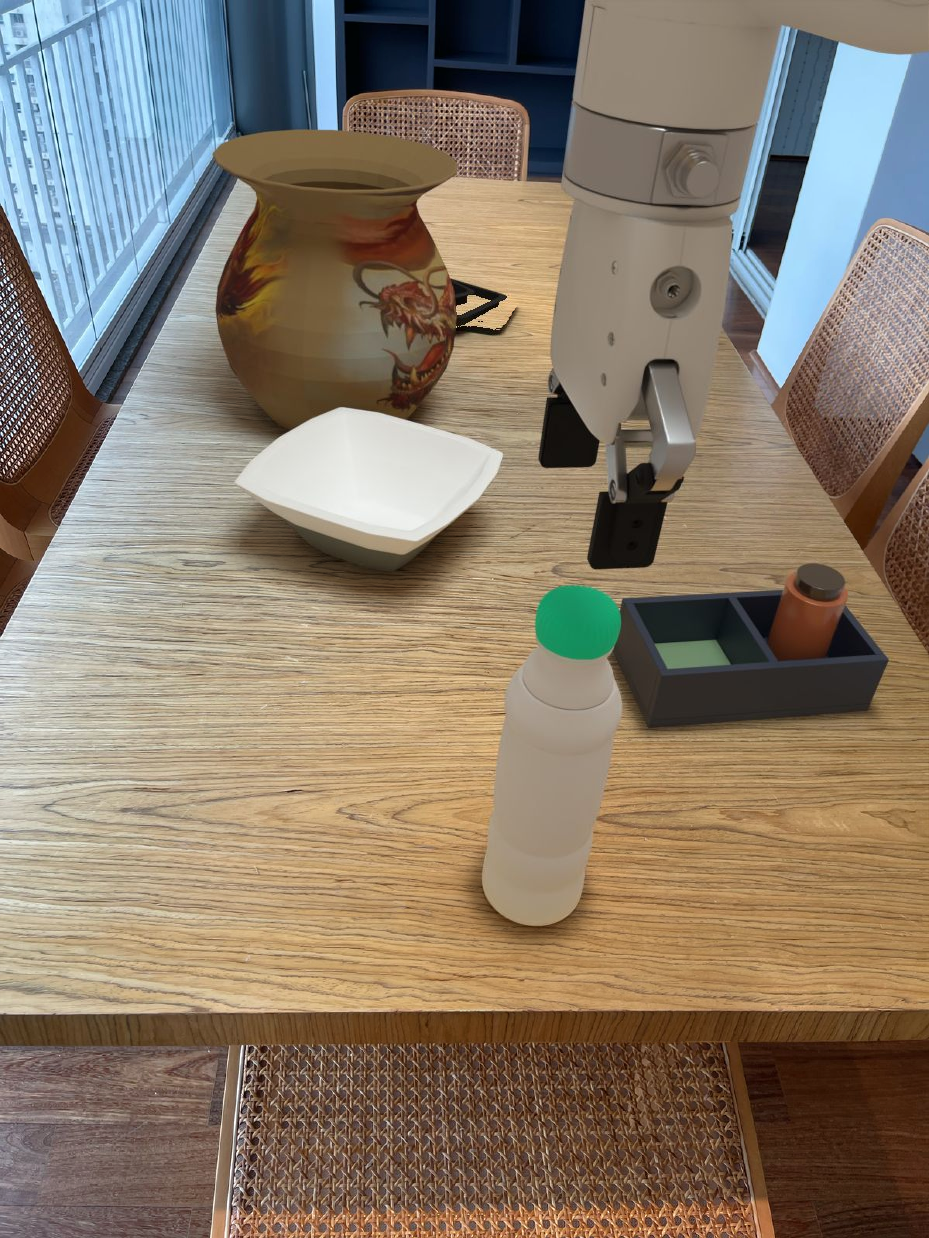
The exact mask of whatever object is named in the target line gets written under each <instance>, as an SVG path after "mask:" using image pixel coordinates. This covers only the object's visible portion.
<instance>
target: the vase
mask: <svg viewBox="0 0 929 1238" xmlns="http://www.w3.org/2000/svg"><path fill="white" fill-rule="evenodd" d="M212 156H213V158H214V161H215V163H216V165H217V166H218V167H220V168H221V169H222V170H224V171H225V172H227V173H229V174H230V175H232V176H233V177H235V178H236V179H238V180H240V181H241V182H243V183H244V184H245V185H247V186H249V187H250V188H251V189H252V190H253V191H254V193H255V197H256V201H255V204H254V208H253V210H252V213H251V214H250V215H249V217H248V218H247V221H246V222H245V224H244V226H243V227H242V229H241V231H240V232H239V234H238V237H237V238H236V241H235V243H234V245H233V247H232V249H231V251H230V253H229V256H228V257H227V260H226V262H225V264H224V266H223V269H222V273H221V275H220V279H219V281H218V284H217V288H216V289H217V290H216V300H215V316H216V325H217V331H218V335H219V338H220V341H221V345H222V348H223V351H224V353H225V357H226V359H227V362H228V364H229V367H230V369H231V370H232V372H233V374H234V375H235V376H236V378H237V379H238V381H239V383H240V384H241V386H242V387H243V389H245V391H247V392H248V394H249V396H251V397H252V399H253V400H254V401H255V402H256V404H257V405H258V406H259V407H260V408H261V409H262V410H263V411H264V413H265V414H266V415H267V416H268V417H269V418H270V419H271V420H272V421H273V422H274V423H276V424H277V425H278V426H280V427H281V428H284V429H286V430H288V431H291V430H293V429H294V428H296V427H298V426H300V425H301V424H303V423H305V422H307V421H308V420H310V419H312V418H315V417H317V416H319V415H322V414H324V413H327V412H329V411H332V410H334V409H337V408H339V407H345V408H351V409H358V410H365V411H371V412H378V413H382V414H386V415H389V416H393V417H397V418H400V419H404V420H408V419H409V418H410V416H411V415H412V414H413V413H414V412H415V411H416V410H417V408H418V407H419V406H420V405H421V403H422V402H423V401H424V400H425V398H427V396H428V395H430V393H431V392H432V391H433V389H434V388H435V387H436V386H437V384H438V383H439V381H440V380H441V378H442V376H443V374H444V373H445V372H446V370H447V368H448V366H449V363H450V359H451V358H452V357H451V356H452V354H453V351H454V346H455V338H456V330H457V329H456V315H457V312H456V302H455V293H454V289H453V286H452V283H451V280H450V278H451V277H450V274H449V271H448V268H447V266H446V264H445V262H444V260H443V258H442V255H441V253H440V251H439V249H438V247H437V244H436V242H435V241H434V239H433V236H432V235H431V233H430V231H429V229H428V228H427V225H426V224H425V222H424V220H423V218H422V216H421V215H420V213H419V208H418V205H417V204H418V200H419V199H420V198H422V196H424V195H425V194H427V193H428V192H430V191H432V190H434V189H436V188H437V187H440V185H443V184H444V183H446V182H447V181H449V180H451V179H452V178H453V177H454V176H456V175H458V161H456V160H455V159H454V158H453V157H452V156H450V155H449V154H448V153H447V152H445V151H443V150H441V149H438V148H435V147H433V146H431V145H429V144H426V143H423V142H418V141H414V140H411V139H406V138H402V137H398V136H390V135H385V134H378V133H372V132H365V131H351V130H341V129H340V130H339V129H287V130H273V131H263V132H257V133H252V134H251V133H250V134H247V135H241V136H238V137H235V138H233V139H230V140H227V141H224V142H221V143H220V145H218V147H216V149H215V150H214V151H213V152H212Z"/></svg>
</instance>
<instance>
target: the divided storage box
mask: <svg viewBox="0 0 929 1238" xmlns="http://www.w3.org/2000/svg"><path fill="white" fill-rule="evenodd" d="M782 592H783V589H771V590H769V589H768V590H754V591H735V592H734V591H733V592H717V593H697V594H681V595H679V594H678V595H677V594H676V595H660V596H658V595H657V596H643V597H641V596H640V597H624V598H622V599H621V602H620V608H619V612H620V615H621V628H620V633H619V636H618V639H617V642H616V644H615V645H614V648H613V651H612V653H613V655H614V657H615V660H616V661H617V662H616V663H617V664H618V666H619V668H620V671H621V673H622V675H623V676H624V679H625V680H626V684H627V685H628V687H629V690H630V691H631V694H632V696H633V698H634V700H635V703H636V704H637V706H638V709H639V710H640V713H641V715H642V718H643V719H644V721H645V724H646V726H647V728H648V729H657V728H658V729H660V728H671V727H685V726H697V725H707V724H708V725H709V724H721V723H733V722H747V721H758V720H770V719H772V720H773V719H784V718H797V717H809V716H810V717H811V716H822V715H834V714H835V715H836V714H846V713H847V714H848V713H859V712H868V711H869V708H870V706H871V703H872V701H873V700H874V699H873V698H874V696H875V694H876V691H877V689H878V687H879V685H880V683H881V680H882V677H883V675H884V673H885V670H886V668H887V666H888V663H889V661H890V659H889V658H888V656H887V655H886V654H885V653H884V652H883V650H882V649H881V648H880V646H879V645H878V644H877V643H876V642H875V640H874V639H873V637H872V636H871V635H870V634H869V632H867V630H866V629H865V628H864V626H863V625H862V624H861V622H859V620H858V619H857V618H856V616H855V615H854V614H853V613H852V611H851V610H850V609H849V607H848V606H847V604H845V607H844V610H843V612H842V615H841V618H840V620H839V623H838V626H837V628H836V631H835V634H834V636H833V639H832V642H831V644H830V647H829V650H828V652H827V655H826V658H820V659H806V660H791V661H778V660H777V658H776V657H775V655H774V654H773V652H772V651H771V649H770V648H769V646H768V645H767V643H766V641H767V638H768V635H769V632H770V629H771V626H772V623H773V620H774V617H775V614H776V611H777V607H778V604H779V601H780V598H781V595H782Z"/></svg>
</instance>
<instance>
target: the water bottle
mask: <svg viewBox="0 0 929 1238" xmlns="http://www.w3.org/2000/svg"><path fill="white" fill-rule="evenodd" d="M534 620H535V621H534V631H535V641H536V644H537V646H536V647H535V648H534V649H533V650H532V651H531V652H530V653H529V654H528V656H527V657H526V659H525V661H524V662H523V663H522V665H521V666H520V667H519V668H518V669H517V670H516V671H515V672H514V674H513V675H512V677H511V678H510V679H509V682H508V684H507V686H506V690H505V693H504V704H503V705H504V712H505V713H504V714H505V716H504V719H503V720H504V721H503V723H502V728H501V733H500V738H499V745H498V751H497V758H496V765H495V774H494V783H493V803H492V804H493V805H492V806H493V807H492V811H491V815H490V818H489V821H488V826H487V827H488V828H487V838H486V839H487V841H486V842H487V848H486V850H485V855H484V859H483V865H482V871H481V885H482V889H483V890H482V891H483V893H484V895H485V897H486V899H487V901H488V903H489V904H490V905H491V906H492V907H493V909H494V910H495V911H496V912H498V913H499V914H500V915H501V916H503V917H504V918H505V919H508V920H509V921H512V922H514V923H517V924H520V925H524V926H530V927H531V926H532V927H542V926H548V925H553V924H556V923H558V922H560V921H563V920H564V919H566V918H567V917H569V915H571V914H572V912H574V910H575V909H576V908H577V906H578V904H579V902H580V900H581V897H582V894H583V890H584V884H585V878H586V866H587V865H588V862H589V860H590V856H591V852H592V847H593V842H594V827H595V825H596V822H597V819H598V816H599V813H600V809H601V806H602V802H603V798H604V794H605V789H606V787H607V786H606V785H607V781H608V776H609V772H610V767H611V761H612V755H613V749H614V741H615V734H616V733H617V731H618V729H619V726H620V724H621V720H622V716H623V715H622V714H623V700H622V695H621V692H620V689H619V686H618V684H617V681H616V679H615V676H614V670H613V667H612V665H611V663H610V661H609V660H608V657H609V656H610V655H611V654H612V653H613V648H614V645H615V644H616V642H617V639H618V636H619V633H620V628H621V615H620V608H619V607H618V605H617V603H616V602H615V600H613V598H612V597H610V596H609V595H608V594H607V593H605V592H604V591H602V590H599V589H597V588H593V587H592V586H586V585H580V584H577V585H574V584H570V585H567V584H566V585H560V586H558V587H554V588H553V589H551V590H549V591H548V592H547V593H545V594H544V595H543V597H541V599H540V601H539V603H538V605H537V609H536V613H535V619H534Z"/></svg>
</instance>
